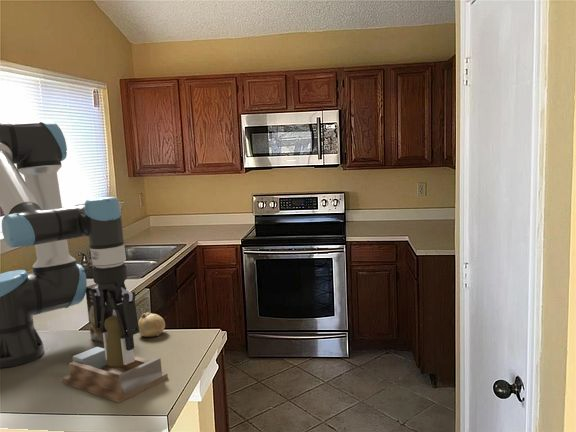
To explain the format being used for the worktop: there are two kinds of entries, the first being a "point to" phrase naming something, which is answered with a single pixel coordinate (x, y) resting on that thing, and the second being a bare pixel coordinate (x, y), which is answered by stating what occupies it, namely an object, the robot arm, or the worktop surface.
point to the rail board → (108, 392)
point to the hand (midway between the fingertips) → (120, 360)
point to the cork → (114, 341)
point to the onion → (151, 324)
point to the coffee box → (94, 332)
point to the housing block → (92, 357)
